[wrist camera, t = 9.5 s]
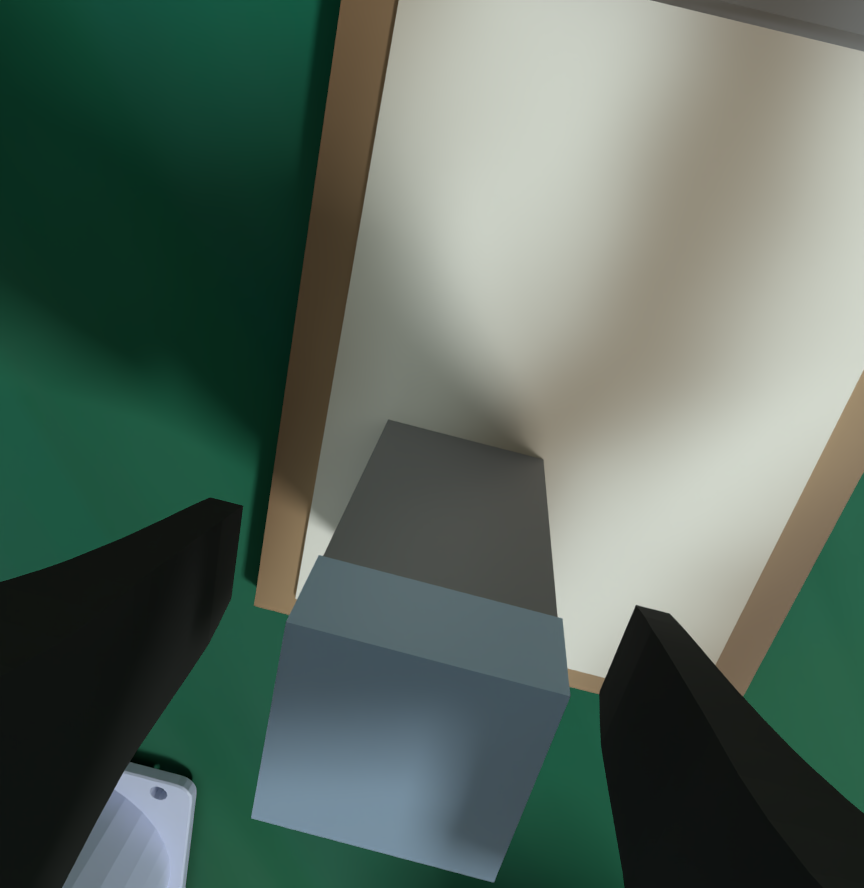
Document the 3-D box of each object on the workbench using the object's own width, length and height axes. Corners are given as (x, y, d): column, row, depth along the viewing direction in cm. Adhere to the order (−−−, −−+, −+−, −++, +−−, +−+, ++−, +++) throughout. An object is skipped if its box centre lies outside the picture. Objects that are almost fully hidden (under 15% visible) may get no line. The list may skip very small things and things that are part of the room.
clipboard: (262, 591, 18) (237, 634, 16) (379, -198, 11) (357, -255, 10) (720, 709, 18) (739, 763, 16) (1105, -26, 11) (1200, -55, 10)
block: (356, 552, 16) (251, 818, 10) (386, 416, 15) (286, 622, 8) (502, 591, 16) (493, 881, 10) (546, 458, 15) (569, 696, 8)
